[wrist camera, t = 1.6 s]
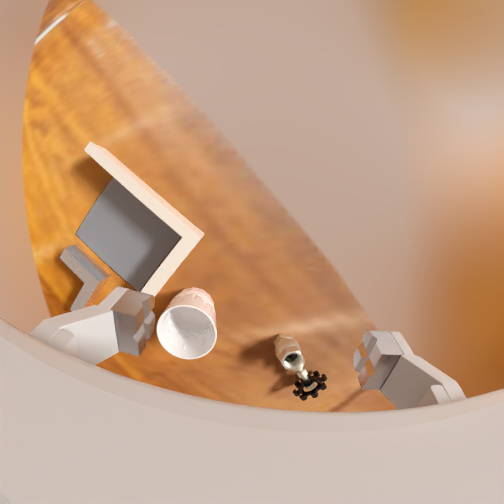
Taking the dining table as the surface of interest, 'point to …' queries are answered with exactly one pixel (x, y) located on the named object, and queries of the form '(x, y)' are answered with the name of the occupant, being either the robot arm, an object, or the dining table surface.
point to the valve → (297, 365)
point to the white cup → (188, 324)
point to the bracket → (85, 275)
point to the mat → (127, 234)
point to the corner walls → (157, 206)
